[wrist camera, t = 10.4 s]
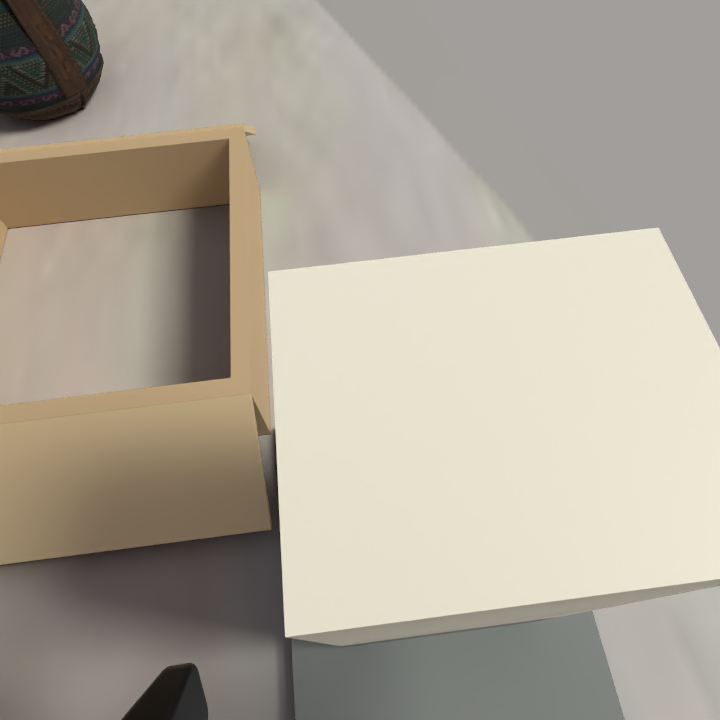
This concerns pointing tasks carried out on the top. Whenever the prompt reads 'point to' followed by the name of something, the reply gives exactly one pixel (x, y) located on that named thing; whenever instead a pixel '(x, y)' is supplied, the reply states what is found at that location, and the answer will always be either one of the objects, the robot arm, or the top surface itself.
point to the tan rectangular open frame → (147, 405)
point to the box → (492, 437)
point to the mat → (462, 676)
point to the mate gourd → (47, 58)
